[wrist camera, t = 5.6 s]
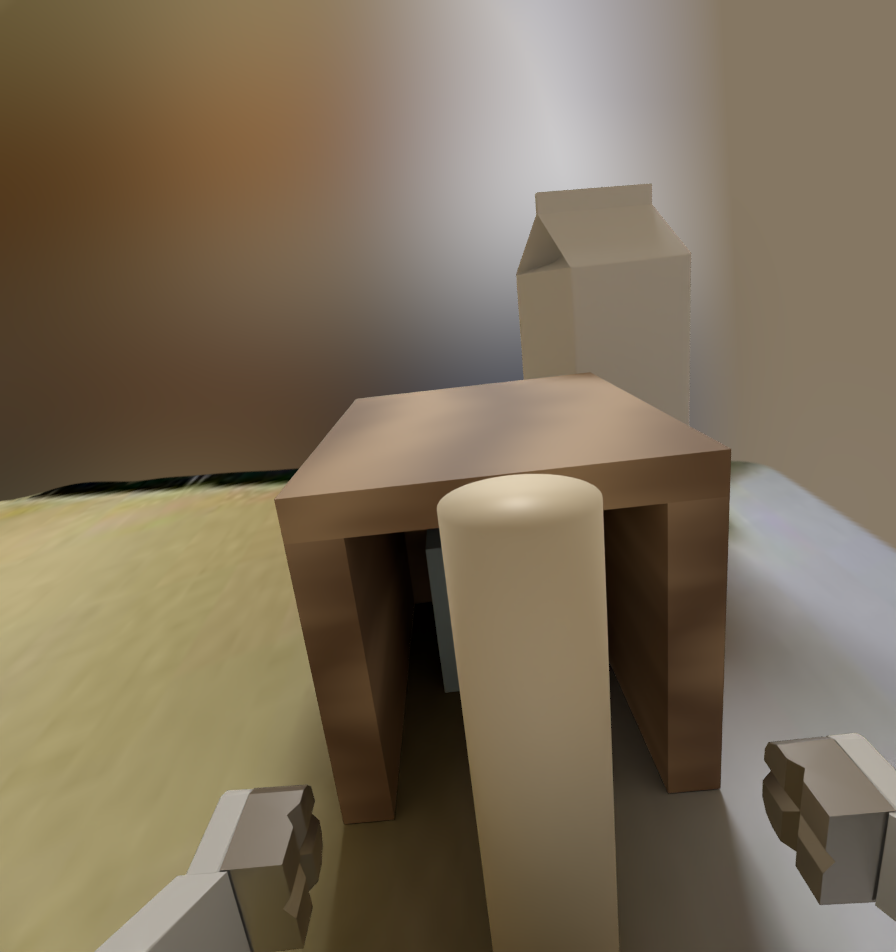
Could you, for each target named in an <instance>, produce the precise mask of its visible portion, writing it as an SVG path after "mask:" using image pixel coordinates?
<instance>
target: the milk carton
mask: <svg viewBox="0 0 896 952" xmlns="http://www.w3.org/2000/svg"><path fill="white" fill-rule="evenodd" d="M535 199H536V217H535V220H534V223H533V226H532V229H531V232H530V235H529V238H528V241H527V244H526V247H525V250H524V253H523V256H522V259H521V262H520V265H519V268H518V270H517V274H516V276H517V293H518V306H519V319H520V333H521V346H522V360H523V374H524V380H527V379H536V378H545V377H553V376H562V375H571V374H579V373H588V372H591V373H593V374H594V375H596V376H598V377H600V378H602V379H604V380H605V381H607V382H609V383H611V384H613V385H615V386H616V387H618V388H620V389H622V390H624V391H626V392H627V393H629V394H631V395H633V396H635V397H637V398H638V399H640V400H642V401H644V402H646V403H648V404H649V405H651V406H653V407H655V408H657V409H659V410H660V411H662V412H664V413H666V414H668V415H670V416H671V417H673V418H675V419H677V420H679V421H681V422H682V423H684V424H686V425H688V426H689V390H690V387H689V385H690V380H689V379H690V292H691V289H690V287H691V284H690V283H691V252H690V251H689V250H688V249H687V247H686V246H685V245H684V244H683V242H682V241H681V240H680V239H679V237H678V236H677V235H676V234H675V232H674V231H673V230H672V229H671V227H670V226H669V225H668V224H667V222H666V221H665V220H664V219H663V217H662V216H661V215H660V214H659V212H658V211H657V210H656V209H655V207H654V206H653V205H652V184H640V185H627V186H614V187H601V188H588V189H576V190H563V191H550V192H538V193H536V194H535Z"/></svg>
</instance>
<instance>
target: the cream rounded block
mask: <svg viewBox="0 0 896 952" xmlns="http://www.w3.org/2000/svg"><path fill="white" fill-rule="evenodd" d="M437 515H438V523H439V528H433V529H427V535H426V549H425V550H426V557H427V564H428V572H429V579H430V586H431V594H432V601H433V609H434V616H435V623H436V631H437V638H438V645H439V653H440V660H441V667H442V675H443V682H444V689H445V693H446V692H456V691H460V696H461V704H462V712H463V720H464V728H465V736H466V743H467V751H468V759H469V767H470V775H471V783H472V791H473V799H474V806H475V814H476V822H477V830H478V838H479V846H480V854H481V862H482V869H483V877H484V885H485V893H486V901H487V909H488V917H489V925H490V933H491V940H492V948H493V952H619V930H618V903H617V876H616V848H615V821H614V794H613V767H612V739H611V712H610V685H609V658H608V630H607V603H606V576H605V549H604V522H603V497H602V493H601V492H600V490H599V489H598V488H597V487H595V486H594V485H592V484H590V483H588V482H586V481H583V480H580V479H576V478H573V477H567V476H561V475H551V474H518V475H507V476H500V477H494V478H489V479H484V480H480V481H476V482H473V483H470V484H467V485H464V486H462V487H459V488H457V489H455V490H453V491H451V492H450V493H448V494H447V495H445V496H444V497H443V498H442V499H441V500H440V501H439V503H438V505H437Z"/></svg>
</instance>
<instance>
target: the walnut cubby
mask: <svg viewBox="0 0 896 952" xmlns="http://www.w3.org/2000/svg"><path fill="white" fill-rule="evenodd" d="M730 470H731V449H730V448H728V447H727V446H724V445H723V444H721V443H719V442H717V441H715V440H714V439H712V438H710V437H708V436H706V435H704V434H702V433H701V432H699V431H697V430H695V429H693V428H691V427H690V426H688V425H686V424H684V423H682V422H681V421H679V420H677V419H675V418H673V417H671V416H670V415H668V414H666V413H664V412H662V411H660V410H659V409H657V408H655V407H653V406H651V405H649V404H648V403H646V402H644V401H642V400H640V399H638V398H637V397H635V396H633V395H631V394H629V393H627V392H626V391H624V390H622V389H620V388H618V387H616V386H615V385H613V384H611V383H609V382H607V381H605V380H604V379H602V378H600V377H598V376H596V375H594V374H593V373H591V372H588V373H579V374H571V375H562V376H553V377H545V378H536V379H527V380H519V381H510V382H502V383H493V384H483V385H475V386H466V387H458V388H449V389H440V390H432V391H422V392H414V393H405V394H397V395H388V396H379V397H370V398H361V399H356V400H355V401H354V403H353V404H352V405H351V406H350V407H349V409H348V410H347V411H346V412H345V413H344V415H343V416H342V417H341V418H340V420H339V421H338V422H337V423H336V425H335V426H334V427H333V428H332V429H331V431H330V432H329V433H328V434H327V436H326V437H325V438H324V439H323V440H322V442H321V443H320V444H319V445H318V447H317V448H316V449H315V450H314V452H313V453H312V454H311V455H310V456H309V458H308V459H307V460H306V461H305V462H304V464H303V465H302V466H301V467H300V469H299V470H298V471H297V472H296V473H295V475H294V476H293V477H292V478H291V480H290V481H289V482H288V483H287V484H286V486H285V487H284V488H283V489H282V491H281V492H280V493H279V494H278V495H277V497H276V498H275V499H274V501H275V505H276V510H277V515H278V519H279V524H280V528H281V533H282V538H283V542H284V547H285V552H286V556H287V561H288V566H289V570H290V575H291V580H292V584H293V589H294V594H295V598H296V603H297V608H298V612H299V617H300V622H301V626H302V631H303V636H304V640H305V645H306V650H307V654H308V659H309V664H310V668H311V673H312V678H313V682H314V687H315V692H316V696H317V701H318V706H319V710H320V715H321V720H322V724H323V729H324V733H325V738H326V743H327V747H328V752H329V757H330V761H331V766H332V771H333V775H334V780H335V785H336V789H337V794H338V799H339V803H340V808H341V813H342V817H343V822H344V824H351V823H361V822H372V821H382V820H393V819H395V809H396V798H397V787H398V776H399V766H400V755H401V744H402V733H403V723H404V712H405V701H406V690H407V680H408V669H409V658H410V647H411V637H412V626H413V615H414V604H416V603H425V602H433V601H432V594H431V586H430V579H429V572H428V564H427V557H426V550H425V549H426V535H427V529H433V528H439V523H438V515H437V505H438V503H439V501H440V500H441V499H442V498H443V497H444V496H445V495H447V494H448V493H450V492H451V491H453V490H455V489H457V488H459V487H462V486H464V485H467V484H470V483H473V482H476V481H480V480H484V479H489V478H494V477H500V476H507V475H518V474H551V475H561V476H567V477H573V478H576V479H580V480H583V481H586V482H588V483H590V484H592V485H594V486H595V487H597V488H598V489H599V490H600V492H601V493H602V497H603V522H604V549H605V576H606V603H607V630H608V658H609V662H610V665H611V667H612V669H613V671H614V674H615V676H616V678H617V680H618V682H619V685H620V687H621V689H622V691H623V694H624V696H625V698H626V700H627V703H628V705H629V707H630V709H631V711H632V714H633V716H634V718H635V720H636V723H637V725H638V727H639V729H640V732H641V734H642V736H643V738H644V740H645V743H646V745H647V747H648V749H649V752H650V754H651V756H652V758H653V761H654V763H655V765H656V767H657V769H658V772H659V774H660V776H661V778H662V781H663V783H664V785H665V787H666V790H667V792H668V793H677V792H688V791H698V790H709V789H719V788H720V782H721V751H722V719H723V688H724V657H725V626H726V595H727V564H728V533H729V501H730Z"/></svg>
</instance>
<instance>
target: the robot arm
mask: <svg viewBox="0 0 896 952" xmlns="http://www.w3.org/2000/svg"><path fill="white" fill-rule="evenodd" d="M764 761H765V762H766V764H767V765H768V767H769V768H770V770H771V771H770V773H769V774H768V775H767V776H766V777H765V778H764V780H763V789H762V797H763V801H764V805H765V810H766V814H767V816H768V818H769V821H770V823H771V825H772V828H773V829H774V831H775V833H776V834H777V836H778V838H779V839H780V841H781V842H783V843H784V844H786V845H787V846H789V847H790V848H792V849H793V850H795V851H796V865H795V866H796V867H797V869H798V871H799V872H800V874H801V875H802V877H803V879H804V880H805V882H806V883H807V885H808V887H809V888H810V890H811V892H812V893H813V895H814V896H815V898H816V900H817V901H818V903H819V905H831V904H850V903H869V902H876V903H875V905H876V906H877V907H878V908H879V909H881V910H882V911H883V912H884V913H886V914H887V915H888V916H889V917H891V918H892V919H893V920H894V921H896V770H895V769H894V768H893V767H892V766H891V765H890V764H889V763H888V762H887V761H886V760H885V759H884V757H883V756H882V755H881V754H880V753H879V752H878V751H877V750H876V749H875V748H874V747H873V746H872V745H871V744H870V743H869V742H868V741H867V740H866V739H865V738H864V737H863V736H861V735H859V734H857V733H850V734H841V735H831V736H826V737H813V738H803V739H793V740H783V741H774V742H768V744H767V746H766V748H765V755H764ZM314 803H315V799H314V795H313V792H312V788H311V786H309V785H296V786H280V787H265V788H254V789H244V790H227V791H226V792H225V793H224V794H223V795H222V796H221V798H220V799H219V802H218V804H217V806H216V808H215V810H214V813H213V815H212V817H211V819H210V822H209V824H208V826H207V828H206V831H205V833H204V835H203V837H202V840H201V842H200V844H199V846H198V849H197V851H196V853H195V855H194V858H193V860H192V862H191V864H190V866H189V869H188V871H187V873H186V875H181V876H177V877H175V878H174V879H173V880H172V881H171V882H170V883H169V884H168V885H167V886H166V887H165V888H163V889H162V890H161V891H160V892H159V893H158V894H157V895H156V896H155V897H154V898H153V899H151V900H150V901H149V902H148V903H147V904H146V905H145V906H144V907H143V908H142V909H140V910H139V911H138V912H137V913H136V914H135V915H134V916H133V917H132V918H131V919H130V920H128V921H127V922H126V923H125V924H124V925H123V926H122V927H121V928H120V929H119V930H117V931H116V932H115V933H114V934H113V935H112V936H111V937H110V938H109V939H108V940H107V941H105V942H104V943H103V944H102V945H101V946H100V947H99V948H98V949H97V950H96V951H95V952H277V951H286V950H294V949H303V948H304V945H305V940H306V936H307V931H308V926H309V922H310V917H311V913H312V908H313V906H312V902H311V897H310V893H309V891H310V890H311V889H312V888H313V887H314V885H315V884H316V883H317V882H318V880H319V875H320V870H321V865H322V850H323V841H322V830H321V826H320V821H319V820H318V819H317V818H316V817H315V816H314V815H312V811H313V807H314Z"/></svg>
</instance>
